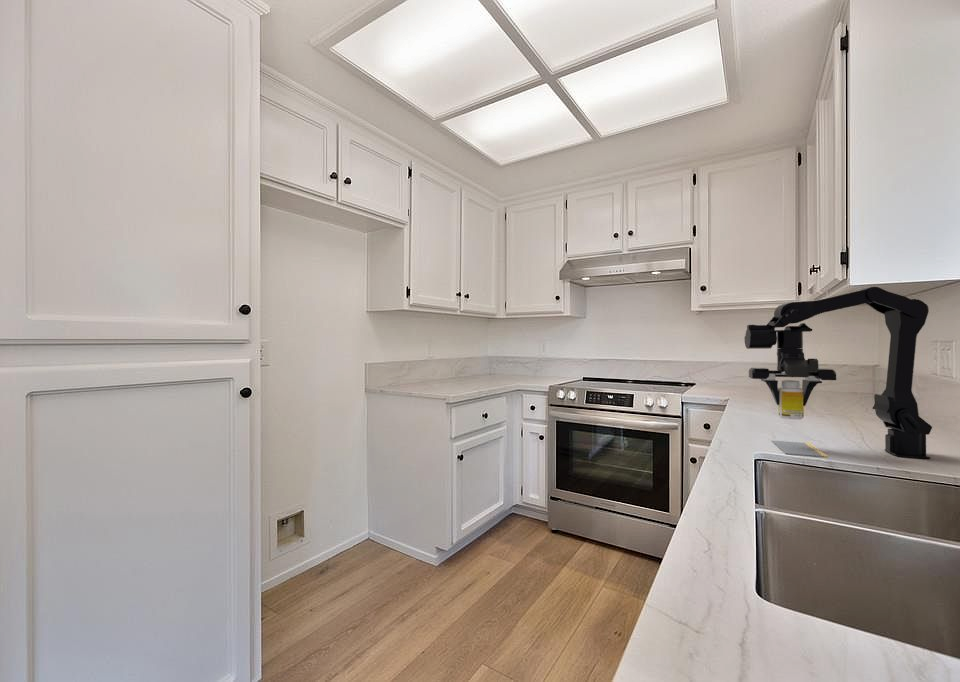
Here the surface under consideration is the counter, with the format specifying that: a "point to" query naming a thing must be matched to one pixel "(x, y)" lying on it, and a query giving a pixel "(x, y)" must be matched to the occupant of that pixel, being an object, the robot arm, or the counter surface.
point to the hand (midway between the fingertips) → (790, 405)
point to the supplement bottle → (790, 400)
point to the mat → (799, 449)
